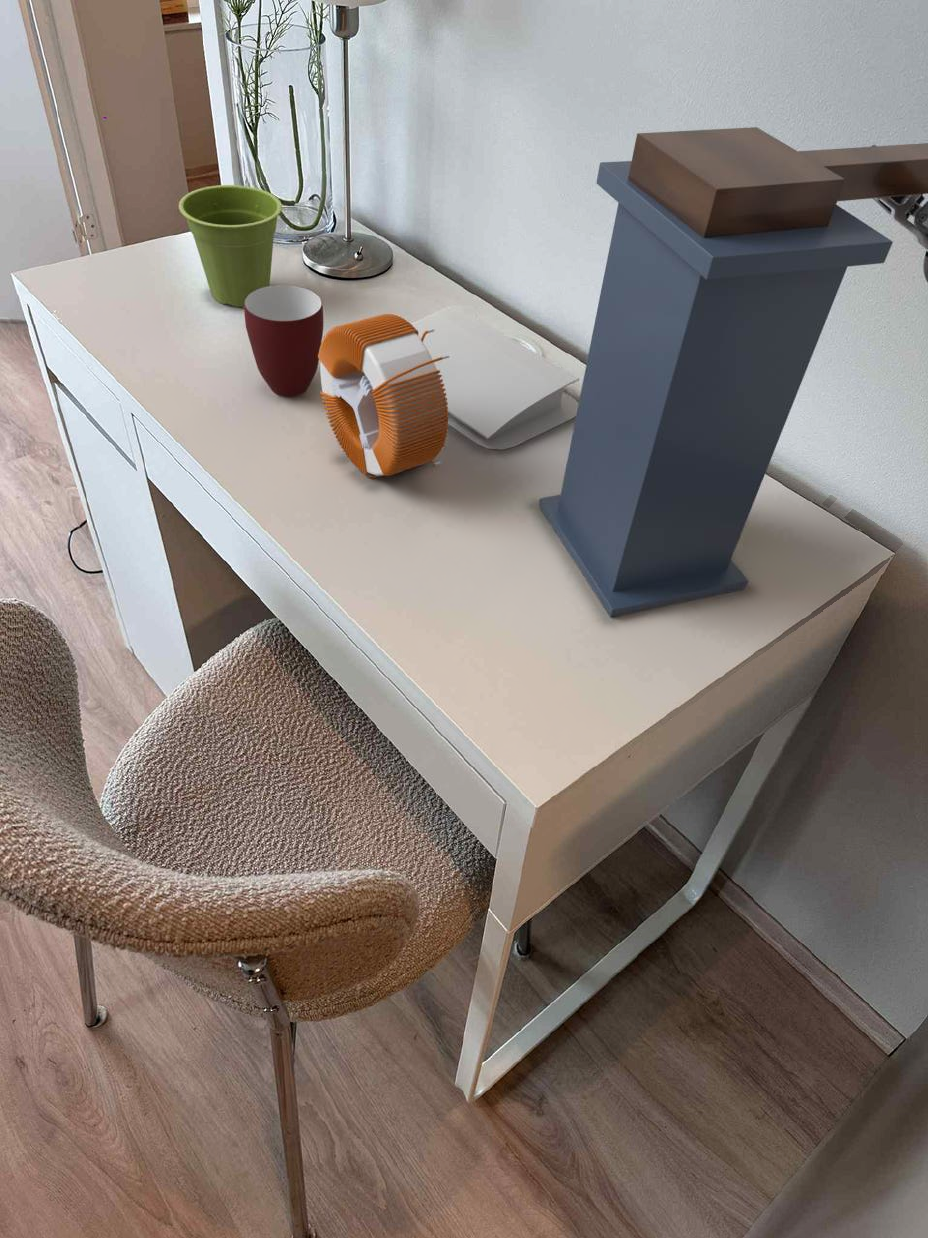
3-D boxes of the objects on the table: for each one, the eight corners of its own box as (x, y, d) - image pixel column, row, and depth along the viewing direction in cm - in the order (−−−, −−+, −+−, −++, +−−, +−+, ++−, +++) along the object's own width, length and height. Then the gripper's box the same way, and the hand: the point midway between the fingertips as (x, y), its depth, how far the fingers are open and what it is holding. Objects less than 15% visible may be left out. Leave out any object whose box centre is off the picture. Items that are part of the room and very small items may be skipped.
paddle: (890, 160, 70) (906, 118, 68) (983, 210, 64) (1004, 166, 62) (627, 178, 63) (636, 132, 61) (703, 237, 56) (716, 188, 54)
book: (454, 326, 112) (457, 296, 109) (590, 409, 101) (597, 378, 98) (358, 362, 104) (357, 331, 101) (494, 456, 93) (498, 424, 90)
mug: (229, 369, 100) (218, 284, 93) (292, 352, 104) (287, 269, 97) (274, 415, 95) (266, 328, 88) (339, 395, 99) (337, 310, 91)
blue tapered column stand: (661, 484, 92) (760, 154, 69) (745, 588, 82) (893, 241, 59) (538, 505, 88) (599, 161, 65) (610, 617, 77) (712, 256, 55)
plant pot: (172, 295, 111) (156, 202, 103) (240, 265, 118) (231, 176, 110) (239, 327, 107) (229, 234, 99) (307, 294, 114) (302, 205, 106)
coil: (394, 509, 85) (398, 372, 75) (316, 431, 93) (309, 297, 83) (452, 487, 89) (464, 352, 78) (372, 413, 97) (372, 281, 86)
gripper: (968, 197, 78) (878, 97, 68) (1097, 269, 69) (1015, 166, 59) (902, 273, 81) (807, 188, 71) (1016, 350, 72) (926, 266, 62)
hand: (901, 178), depth 65 cm, fingers open, 8 cm apart
